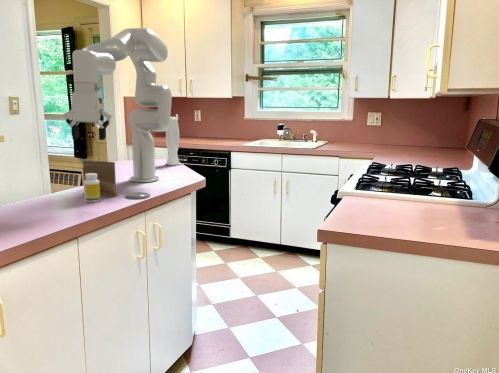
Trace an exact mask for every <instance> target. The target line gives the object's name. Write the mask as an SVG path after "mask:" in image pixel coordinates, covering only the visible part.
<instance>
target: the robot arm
mask: <svg viewBox="0 0 499 373" xmlns="http://www.w3.org/2000/svg"><path fill="white" fill-rule="evenodd" d="M127 57H129V58H130V60H131V62H132V63H133V66H134V69H135V71H136V72H135V73H136V77H135V78H136V80H135V90H134V91H135V92H134V101H135V103H136V104H137V105H138V106H140V107H149V108H137V109H134V110H132V111H131V112H130V113H129V116H128V120H129V126H130V131H131V137H132V138H131V141H132V168H133V171H132V172H133V174H132V175H133V176H132V175H131V176H130V177H129V180H130V181H131V182H133V183H134V182H135V183H153V182H157V181H159V179H160V178H159V176H157V175H156V172H157V170H156V169H157V168H156V163H155V162H156V161H155V160H156V156H155V154H156V153H155V152H156V150H155V148H156V147H155V138H154V137H153V135H152V134H151V132H156V133H157V132H158V133H162V132H166V130H167V129H168V128H169V124H170V117H171V113H172V112H171V110H172V100H173V98H172V95H173V94H172V91H171V89H170V87H168V86H167V85H165V84H157V72H156V70H155V68H154V67H153V66H152V65H151V63H163V62H165V60H167V58H168V48H167V45H166V43H165V42H164V40H163V39H161V38H160V36H159V35H158V34H157V33H156V32H154V31H153V30H152V29H150V28H148V27H147V28H146V27H129V28H124V29H123V30H121V31H119V32H118V33H117V34H115V35H114V36H112V37H111V38H108V39H105V40H103V41H100V42H99V41H98V42H96V43H93V44H90V45H87V46H85V47H83V48H82V49H75V50H74V51H73V52H72V69H73V70H72V73H73V86H74V87H73V88H74V90H73V92H72V97H71V108H70V110H68V111H66V112H64V113H63V114H62V116H63V118H64V120H65V122H66V123H67V124H68V126H69V127H70V129H71V137H72V139H73V140H77V139H79V138H80V128H79V126H78V125H79V124H80V123H92V124H93V123H94V124H95V123H96V124H97V125H98V126H99V128H98V139H99V140H100V141H105V140H106V137H107V130H106V129H107V128H108V126H109V125H110V124H111V121H112V119H113V117H114V116H113V115H112V114H110V113H108V112H106V111H105V107H104V106H105V105H104V101H103V97H102V92H100V93H99V90H102V87H103V86H102V85H100V84H99V83H98V82H99V80H98V79H99V78H98V75H99V76H100V75H101V76H104V75H111V74H112V73H113V72H114V71H115V70H116V67H117V64H116V63H117V62H121V61H123V60H125V59H127ZM150 107H151V108H152V107H153V108H155V109H151V108H150ZM156 107H157V109H156ZM70 116H71V117H70ZM71 118H72V119H71Z"/></svg>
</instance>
